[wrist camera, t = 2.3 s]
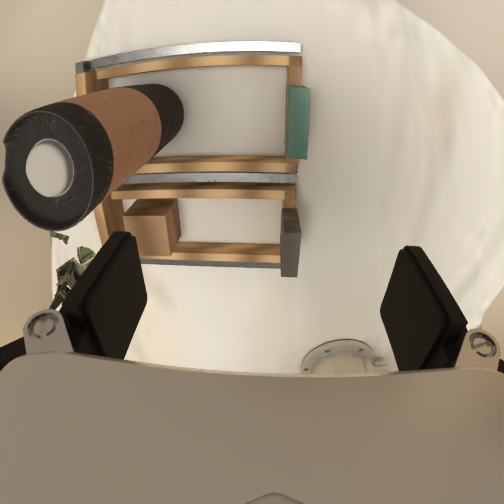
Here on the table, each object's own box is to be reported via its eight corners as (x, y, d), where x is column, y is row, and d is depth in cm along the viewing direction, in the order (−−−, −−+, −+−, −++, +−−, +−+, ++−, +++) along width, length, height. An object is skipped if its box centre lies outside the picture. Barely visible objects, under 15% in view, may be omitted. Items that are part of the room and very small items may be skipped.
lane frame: (299, 44, 27) (301, 42, 25) (288, 261, 41) (289, 273, 39) (86, 62, 28) (75, 63, 26) (115, 256, 42) (108, 266, 39)
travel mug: (198, 128, 32) (121, 200, 15) (141, 159, 34) (40, 251, 17) (166, 68, 29) (53, 78, 12) (111, 104, 31) (-18, 155, 14)
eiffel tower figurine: (107, 318, 49) (77, 380, 38) (57, 301, 48) (22, 356, 37) (107, 245, 41) (62, 308, 30) (50, 227, 40) (-2, 281, 29)
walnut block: (177, 197, 37) (165, 215, 33) (181, 234, 39) (170, 256, 35) (138, 198, 37) (122, 215, 33) (144, 234, 40) (130, 254, 35)
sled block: (296, 183, 35) (303, 213, 28) (291, 251, 40) (295, 292, 33) (110, 184, 36) (78, 212, 29) (122, 247, 41) (98, 283, 34)
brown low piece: (301, 57, 28) (311, 53, 21) (297, 166, 34) (304, 192, 27) (98, 72, 29) (58, 77, 22) (108, 168, 35) (74, 194, 28)
